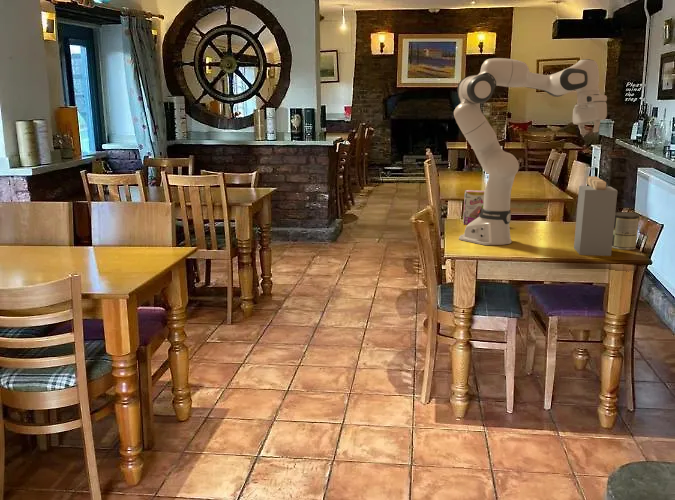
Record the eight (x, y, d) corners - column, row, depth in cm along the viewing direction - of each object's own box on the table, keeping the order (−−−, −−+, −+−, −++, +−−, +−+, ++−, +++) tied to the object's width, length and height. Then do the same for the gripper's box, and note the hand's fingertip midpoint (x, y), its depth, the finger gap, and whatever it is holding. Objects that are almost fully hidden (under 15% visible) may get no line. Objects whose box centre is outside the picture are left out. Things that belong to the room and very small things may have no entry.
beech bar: (605, 190, 260) (606, 182, 259) (596, 189, 261) (596, 182, 260) (594, 183, 278) (595, 176, 278) (586, 183, 279) (586, 176, 278)
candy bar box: (463, 224, 325) (465, 191, 321) (462, 222, 330) (464, 189, 326) (487, 225, 324) (489, 191, 320) (485, 223, 329) (487, 190, 325)
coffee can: (603, 245, 282) (607, 212, 279) (622, 243, 286) (626, 211, 283) (622, 250, 273) (626, 216, 270) (641, 248, 277) (645, 215, 274)
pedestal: (611, 255, 264) (617, 190, 258) (579, 254, 266) (585, 189, 260) (604, 249, 276) (610, 186, 270) (573, 247, 278) (579, 185, 272)
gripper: (568, 103, 287) (569, 135, 288) (595, 96, 267) (596, 131, 268) (581, 102, 288) (582, 135, 290) (609, 95, 268) (610, 130, 270)
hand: (589, 133), depth 279 cm, fingers open, 8 cm apart
